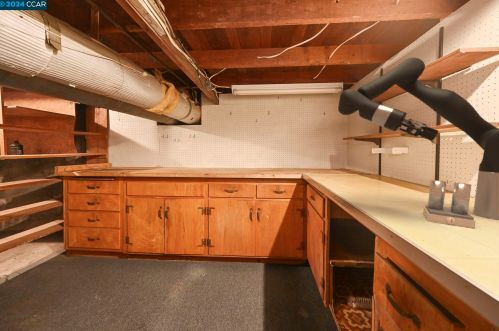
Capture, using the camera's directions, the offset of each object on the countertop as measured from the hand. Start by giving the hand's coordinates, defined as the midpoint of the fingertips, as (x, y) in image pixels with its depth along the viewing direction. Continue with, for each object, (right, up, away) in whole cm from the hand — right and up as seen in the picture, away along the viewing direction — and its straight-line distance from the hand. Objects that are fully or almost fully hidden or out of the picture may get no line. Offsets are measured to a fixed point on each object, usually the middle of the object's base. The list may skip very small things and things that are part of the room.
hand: (435, 135), depth 81 cm
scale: (+5, -29, +1) cm, 30 cm away
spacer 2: (+7, -26, -1) cm, 27 cm away
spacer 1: (+3, -26, +4) cm, 26 cm away
